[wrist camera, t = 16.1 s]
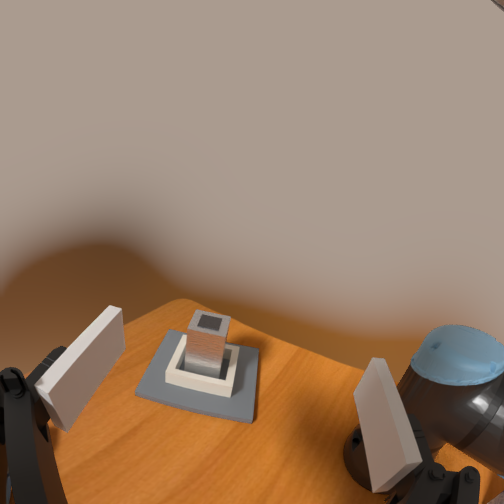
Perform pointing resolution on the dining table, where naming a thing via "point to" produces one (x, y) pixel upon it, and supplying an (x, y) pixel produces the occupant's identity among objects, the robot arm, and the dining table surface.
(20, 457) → the robot arm
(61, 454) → the dining table surface
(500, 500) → the medicine box
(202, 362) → the tall square post
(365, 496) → the dining table surface
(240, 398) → the cradle
